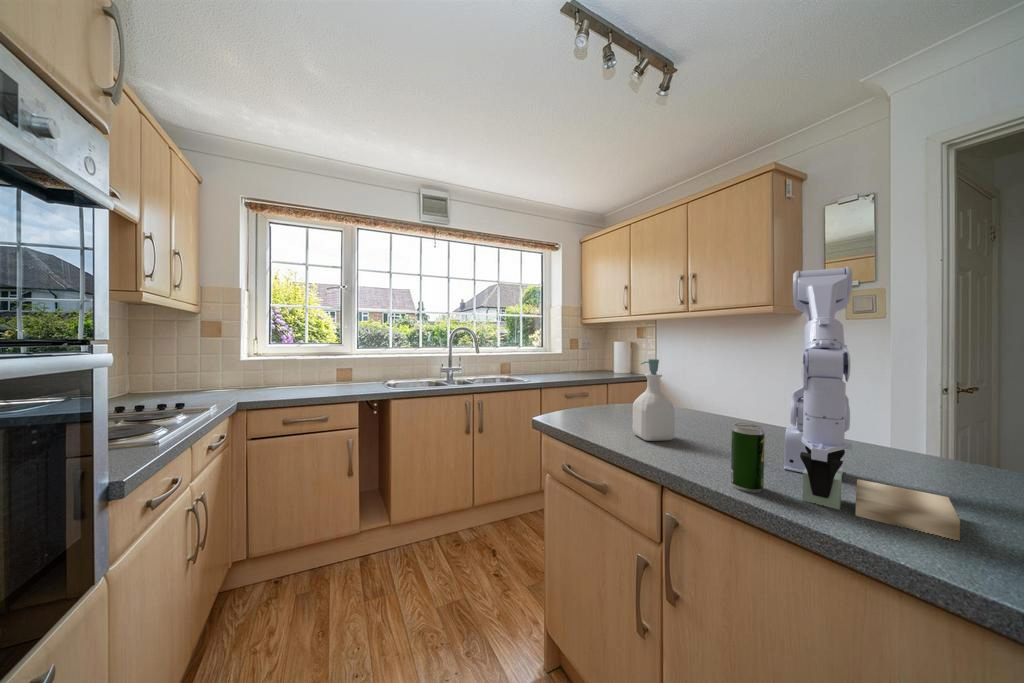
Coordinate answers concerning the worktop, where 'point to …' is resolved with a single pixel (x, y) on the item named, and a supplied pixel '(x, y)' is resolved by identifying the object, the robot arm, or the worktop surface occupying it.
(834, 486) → the sage cube
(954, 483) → the worktop surface
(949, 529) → the birch plinth
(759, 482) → the green soda can
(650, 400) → the soap bottle
